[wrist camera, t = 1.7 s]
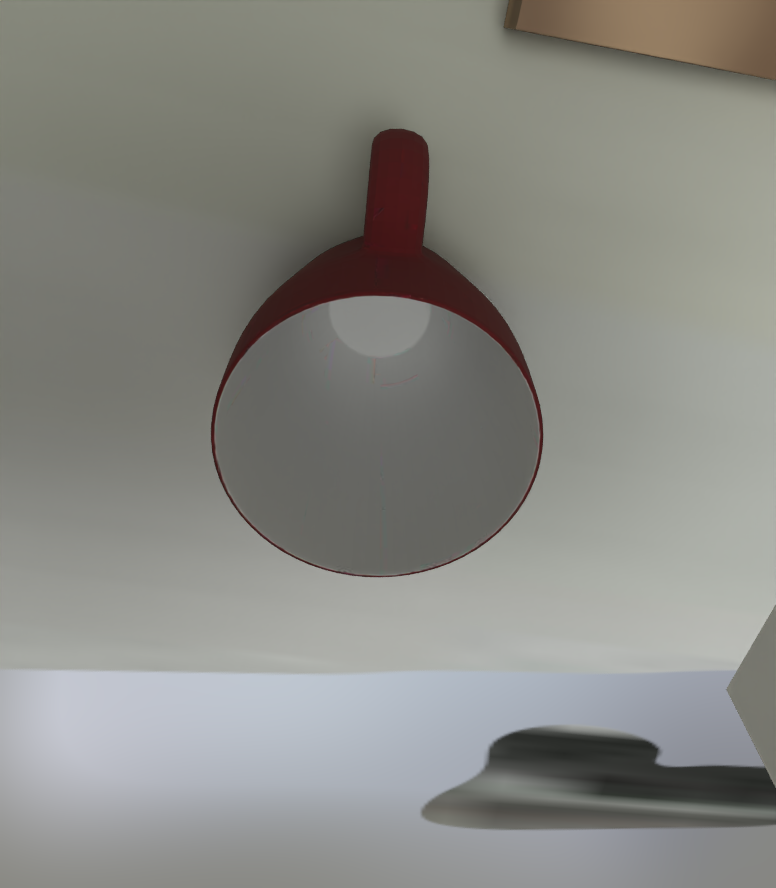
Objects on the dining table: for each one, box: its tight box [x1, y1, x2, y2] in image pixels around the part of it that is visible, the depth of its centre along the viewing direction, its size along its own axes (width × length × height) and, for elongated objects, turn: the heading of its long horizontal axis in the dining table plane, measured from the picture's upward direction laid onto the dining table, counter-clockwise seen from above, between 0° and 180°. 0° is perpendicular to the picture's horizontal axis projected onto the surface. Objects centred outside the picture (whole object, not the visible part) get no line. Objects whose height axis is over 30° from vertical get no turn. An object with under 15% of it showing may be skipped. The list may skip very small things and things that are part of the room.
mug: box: [211, 129, 543, 577], centre depth 21 cm, size 10×8×10 cm
